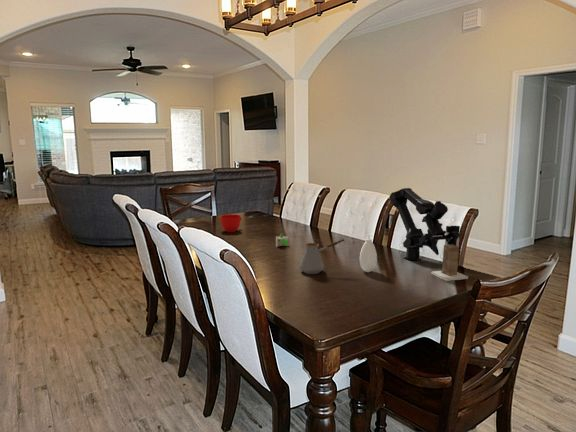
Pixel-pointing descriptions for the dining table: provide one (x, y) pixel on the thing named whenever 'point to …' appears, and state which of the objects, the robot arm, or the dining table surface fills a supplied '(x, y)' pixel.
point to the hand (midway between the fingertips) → (446, 254)
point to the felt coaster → (449, 278)
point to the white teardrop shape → (368, 256)
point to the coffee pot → (313, 258)
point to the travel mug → (452, 229)
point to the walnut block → (450, 260)
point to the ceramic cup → (230, 222)
